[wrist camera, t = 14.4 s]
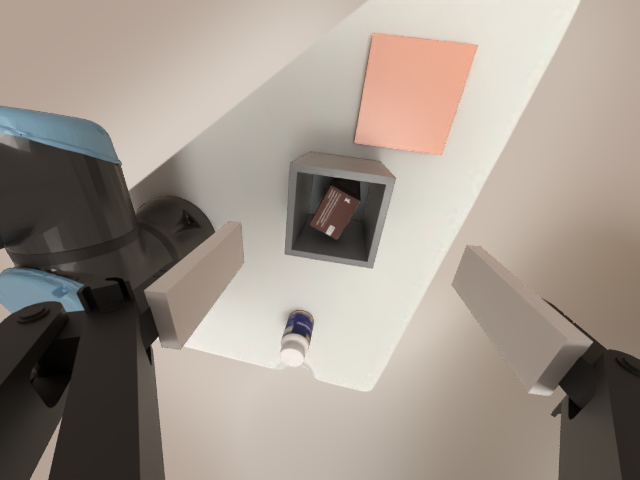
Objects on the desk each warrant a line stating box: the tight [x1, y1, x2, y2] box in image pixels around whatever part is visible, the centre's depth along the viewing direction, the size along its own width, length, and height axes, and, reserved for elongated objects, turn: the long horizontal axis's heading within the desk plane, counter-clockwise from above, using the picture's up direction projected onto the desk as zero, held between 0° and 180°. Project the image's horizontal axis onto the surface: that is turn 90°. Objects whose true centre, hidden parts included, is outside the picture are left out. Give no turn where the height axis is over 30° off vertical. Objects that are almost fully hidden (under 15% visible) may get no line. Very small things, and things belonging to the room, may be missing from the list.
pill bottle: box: [280, 311, 314, 366], centre depth 48 cm, size 6×6×10 cm
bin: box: [285, 152, 396, 269], centre depth 33 cm, size 11×11×14 cm
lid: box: [354, 33, 478, 155], centre depth 32 cm, size 13×13×2 cm
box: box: [310, 177, 361, 240], centre depth 34 cm, size 6×4×12 cm
